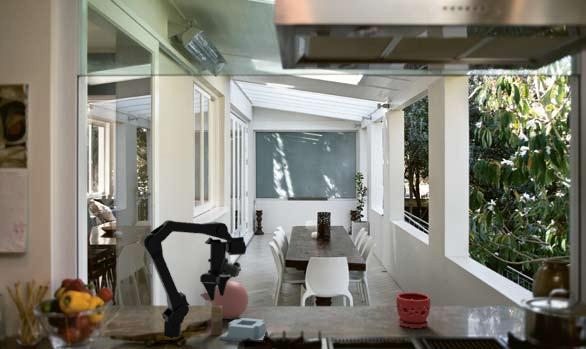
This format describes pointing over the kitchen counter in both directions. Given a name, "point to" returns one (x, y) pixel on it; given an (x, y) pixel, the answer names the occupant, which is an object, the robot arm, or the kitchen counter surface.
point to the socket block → (245, 330)
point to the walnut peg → (216, 320)
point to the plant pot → (413, 309)
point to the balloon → (230, 300)
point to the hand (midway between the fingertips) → (217, 297)
